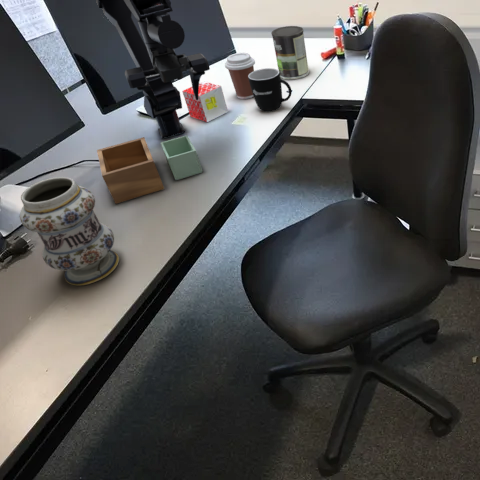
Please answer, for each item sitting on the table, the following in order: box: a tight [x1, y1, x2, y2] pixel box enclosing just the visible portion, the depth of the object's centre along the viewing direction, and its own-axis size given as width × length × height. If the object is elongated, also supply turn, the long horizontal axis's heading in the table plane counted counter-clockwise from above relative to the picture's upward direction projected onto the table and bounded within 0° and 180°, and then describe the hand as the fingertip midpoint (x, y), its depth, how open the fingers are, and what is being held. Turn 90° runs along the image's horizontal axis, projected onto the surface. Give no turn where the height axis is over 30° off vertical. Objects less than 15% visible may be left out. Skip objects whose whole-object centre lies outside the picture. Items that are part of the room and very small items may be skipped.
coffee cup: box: [224, 52, 256, 100], centre depth 150 cm, size 9×9×12 cm
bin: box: [160, 134, 204, 181], centre depth 118 cm, size 10×7×6 cm
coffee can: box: [270, 25, 310, 80], centre depth 160 cm, size 10×10×14 cm
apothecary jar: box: [19, 176, 120, 286], centre depth 87 cm, size 12×12×18 cm
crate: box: [96, 136, 165, 205], centre depth 114 cm, size 14×11×8 cm
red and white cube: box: [182, 81, 229, 123], centre depth 142 cm, size 8×8×8 cm
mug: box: [248, 67, 292, 113], centre depth 141 cm, size 12×9×10 cm
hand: (178, 104), depth 121 cm, fingers open, 9 cm apart
